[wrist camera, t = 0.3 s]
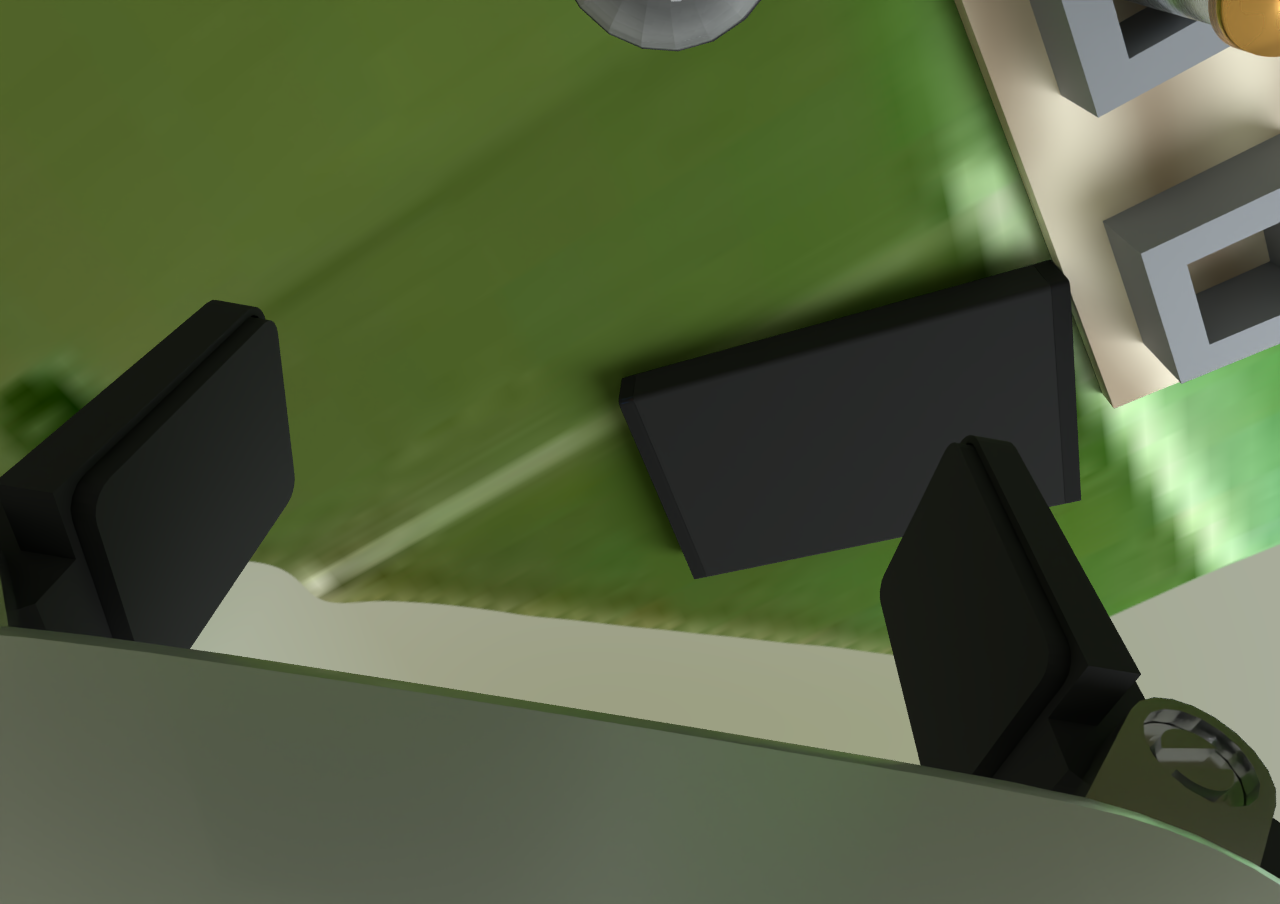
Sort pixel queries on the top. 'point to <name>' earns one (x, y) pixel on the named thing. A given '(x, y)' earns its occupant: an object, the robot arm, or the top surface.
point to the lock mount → (1117, 50)
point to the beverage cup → (667, 20)
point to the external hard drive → (856, 419)
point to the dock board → (1118, 168)
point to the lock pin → (1232, 21)
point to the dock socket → (1187, 231)
